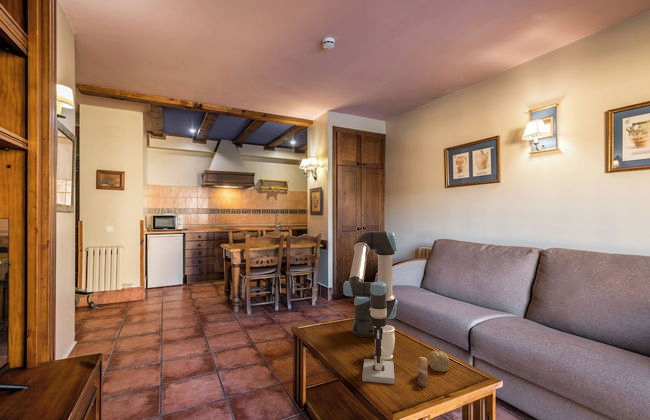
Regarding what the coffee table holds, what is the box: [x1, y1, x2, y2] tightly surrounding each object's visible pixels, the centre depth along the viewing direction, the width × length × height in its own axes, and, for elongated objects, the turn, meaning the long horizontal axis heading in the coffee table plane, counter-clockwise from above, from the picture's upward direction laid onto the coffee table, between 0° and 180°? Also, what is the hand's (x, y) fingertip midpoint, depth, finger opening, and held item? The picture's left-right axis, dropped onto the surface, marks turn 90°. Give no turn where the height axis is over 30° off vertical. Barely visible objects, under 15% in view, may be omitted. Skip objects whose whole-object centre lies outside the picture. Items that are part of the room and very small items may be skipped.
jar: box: [374, 324, 396, 361], centre depth 160 cm, size 11×10×15 cm
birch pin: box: [373, 345, 383, 371], centre depth 142 cm, size 4×4×12 cm
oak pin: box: [417, 356, 428, 373], centre depth 140 cm, size 4×4×8 cm
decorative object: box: [428, 350, 450, 373], centre depth 148 cm, size 9×10×10 cm
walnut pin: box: [417, 370, 429, 388], centre depth 133 cm, size 4×4×5 cm
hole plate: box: [361, 358, 395, 385], centre depth 142 cm, size 16×14×2 cm
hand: (378, 366), depth 142 cm, fingers open, 5 cm apart
